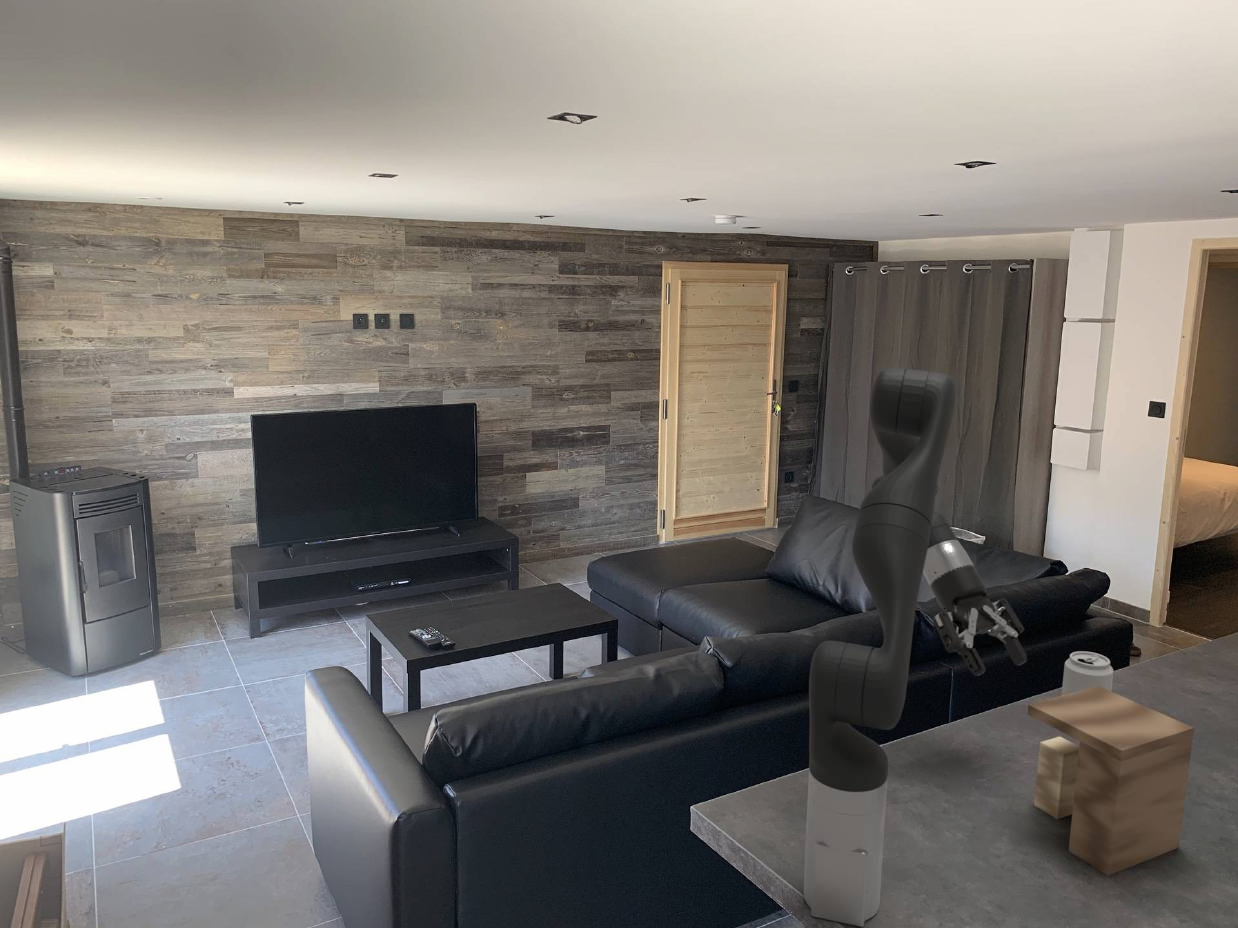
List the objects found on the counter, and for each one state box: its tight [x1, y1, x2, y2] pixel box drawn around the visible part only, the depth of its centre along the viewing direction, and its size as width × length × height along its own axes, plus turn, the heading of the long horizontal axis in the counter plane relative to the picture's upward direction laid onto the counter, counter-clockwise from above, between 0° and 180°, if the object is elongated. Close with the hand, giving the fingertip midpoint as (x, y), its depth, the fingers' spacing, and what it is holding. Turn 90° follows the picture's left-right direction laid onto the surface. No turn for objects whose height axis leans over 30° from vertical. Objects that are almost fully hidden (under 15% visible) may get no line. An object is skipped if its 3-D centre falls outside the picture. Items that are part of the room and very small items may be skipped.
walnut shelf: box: [1027, 686, 1195, 876], centre depth 133 cm, size 14×14×18 cm
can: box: [1061, 650, 1114, 696], centre depth 166 cm, size 8×8×12 cm
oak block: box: [1033, 736, 1080, 820], centre depth 139 cm, size 4×4×10 cm
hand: (1001, 668), depth 147 cm, fingers open, 8 cm apart
